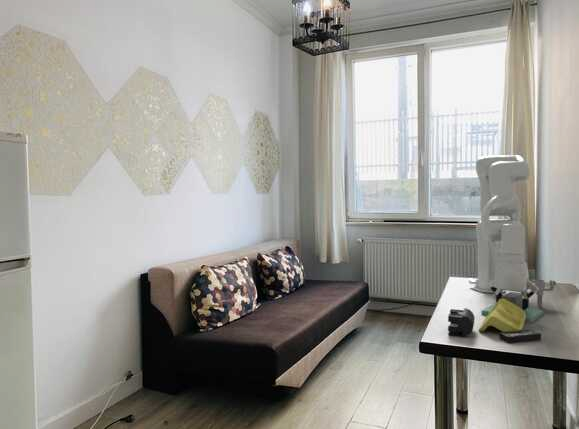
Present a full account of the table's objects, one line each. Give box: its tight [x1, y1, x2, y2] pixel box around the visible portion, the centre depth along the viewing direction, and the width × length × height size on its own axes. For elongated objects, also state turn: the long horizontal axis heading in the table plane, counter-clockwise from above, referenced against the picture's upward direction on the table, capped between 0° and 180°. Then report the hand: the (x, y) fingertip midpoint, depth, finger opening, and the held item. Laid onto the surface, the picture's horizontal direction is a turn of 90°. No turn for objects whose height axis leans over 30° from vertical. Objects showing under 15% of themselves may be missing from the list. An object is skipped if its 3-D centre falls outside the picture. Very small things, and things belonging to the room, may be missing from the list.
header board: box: [480, 302, 544, 324], centre depth 155 cm, size 16×14×5 cm
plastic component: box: [478, 297, 526, 332], centre depth 141 cm, size 20×7×10 cm
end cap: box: [447, 307, 475, 338], centre depth 135 cm, size 10×7×7 cm
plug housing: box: [502, 291, 524, 309], centre depth 155 cm, size 4×8×6 cm, turn 136°
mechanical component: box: [528, 278, 557, 308], centre depth 166 cm, size 3×10×10 cm, turn 78°
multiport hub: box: [499, 329, 542, 344], centre depth 129 cm, size 4×11×2 cm, turn 104°
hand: (512, 307), depth 155 cm, fingers open, 7 cm apart
